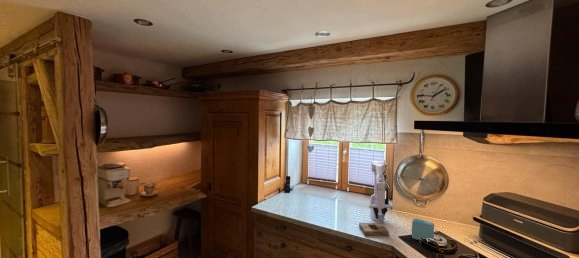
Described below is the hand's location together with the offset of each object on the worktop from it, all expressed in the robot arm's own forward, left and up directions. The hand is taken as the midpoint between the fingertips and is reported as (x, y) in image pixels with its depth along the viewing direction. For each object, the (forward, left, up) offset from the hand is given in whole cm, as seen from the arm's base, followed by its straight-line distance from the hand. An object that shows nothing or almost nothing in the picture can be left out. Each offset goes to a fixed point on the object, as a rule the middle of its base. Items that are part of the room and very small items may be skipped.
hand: (379, 218), depth 160 cm
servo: (0, 0, -2) cm, 2 cm away
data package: (+12, +23, -9) cm, 28 cm away
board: (+2, -5, -9) cm, 10 cm away
